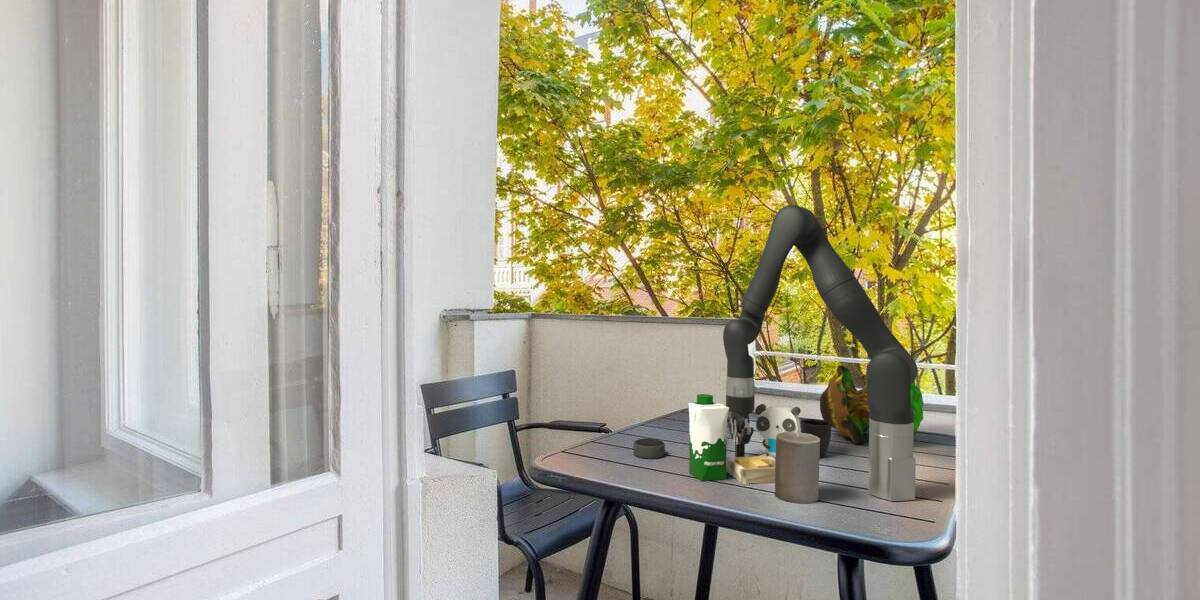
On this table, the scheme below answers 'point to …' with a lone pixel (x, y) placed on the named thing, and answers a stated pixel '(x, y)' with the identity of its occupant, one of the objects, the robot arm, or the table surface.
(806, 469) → the pillar candle
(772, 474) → the beige shallow open box
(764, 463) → the yellow cheese wedge
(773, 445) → the panda figurine
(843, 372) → the decorative tree
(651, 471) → the table surface
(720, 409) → the milk carton
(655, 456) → the smart speaker
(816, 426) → the mug
